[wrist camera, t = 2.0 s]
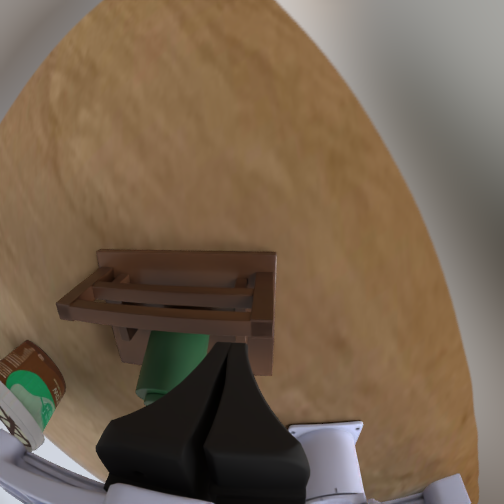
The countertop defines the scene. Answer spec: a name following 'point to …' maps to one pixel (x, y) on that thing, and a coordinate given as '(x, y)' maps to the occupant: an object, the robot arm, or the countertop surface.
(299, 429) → the robot arm
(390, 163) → the countertop surface
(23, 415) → the food container
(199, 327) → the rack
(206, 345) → the bottle
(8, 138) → the countertop surface
